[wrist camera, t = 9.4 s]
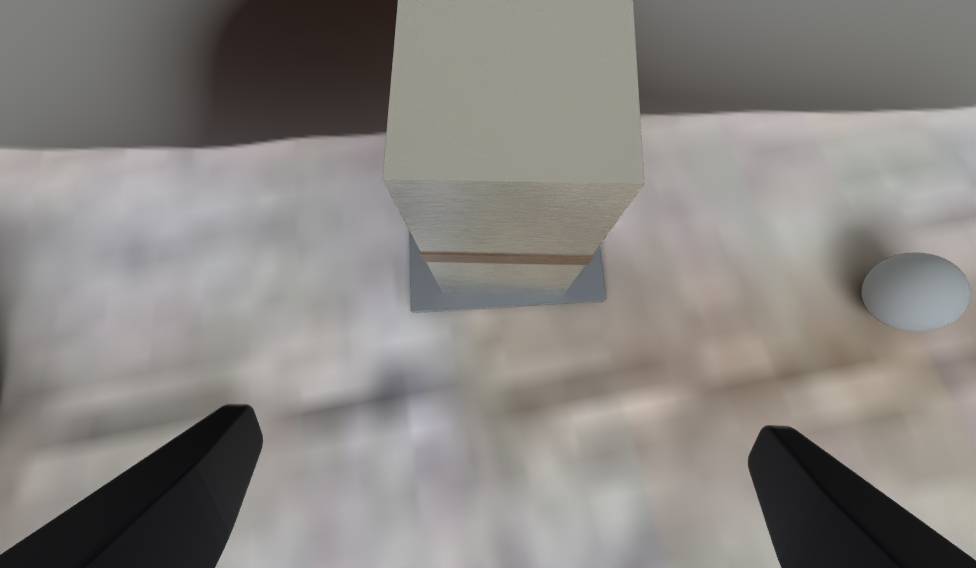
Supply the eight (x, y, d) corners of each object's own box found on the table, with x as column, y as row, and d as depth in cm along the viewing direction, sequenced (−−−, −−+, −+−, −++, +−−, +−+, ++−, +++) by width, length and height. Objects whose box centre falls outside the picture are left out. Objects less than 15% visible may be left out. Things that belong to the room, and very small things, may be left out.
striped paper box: (565, 295, 18) (647, 185, 8) (440, 293, 18) (379, 182, 9) (563, 181, 19) (633, -32, 10) (446, 179, 20) (398, -33, 10)
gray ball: (890, 351, 18) (967, 343, 15) (827, 300, 19) (890, 283, 16) (931, 299, 18) (1013, 281, 16) (869, 250, 19) (937, 225, 16)
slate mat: (604, 301, 19) (606, 299, 18) (412, 312, 19) (410, 311, 18) (587, 170, 20) (589, 165, 20) (410, 181, 20) (408, 177, 20)
